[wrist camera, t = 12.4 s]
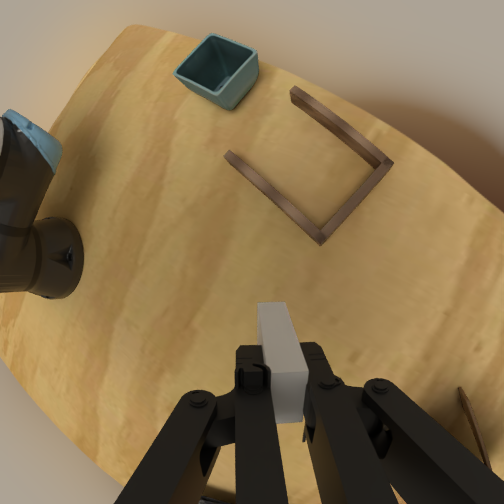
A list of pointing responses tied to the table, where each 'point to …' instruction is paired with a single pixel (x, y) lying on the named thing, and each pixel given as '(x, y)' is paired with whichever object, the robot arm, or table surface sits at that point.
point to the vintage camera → (210, 501)
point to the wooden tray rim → (348, 137)
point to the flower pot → (219, 70)
